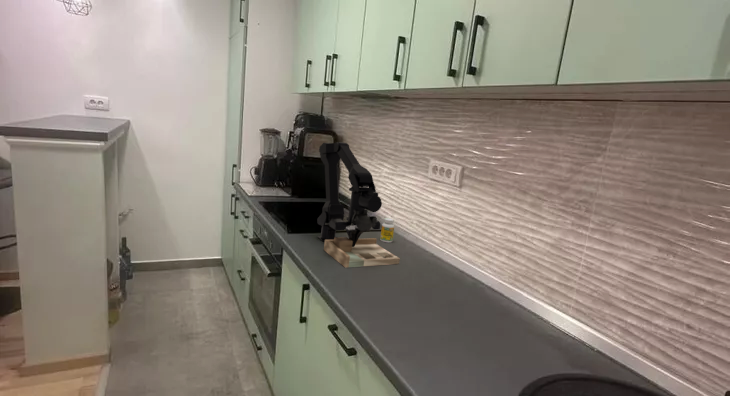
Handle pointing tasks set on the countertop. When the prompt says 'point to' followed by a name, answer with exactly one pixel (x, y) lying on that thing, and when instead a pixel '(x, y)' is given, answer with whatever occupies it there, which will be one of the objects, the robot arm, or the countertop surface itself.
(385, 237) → the supplement bottle
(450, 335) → the countertop surface
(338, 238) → the walnut block
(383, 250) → the trap board
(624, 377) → the countertop surface
